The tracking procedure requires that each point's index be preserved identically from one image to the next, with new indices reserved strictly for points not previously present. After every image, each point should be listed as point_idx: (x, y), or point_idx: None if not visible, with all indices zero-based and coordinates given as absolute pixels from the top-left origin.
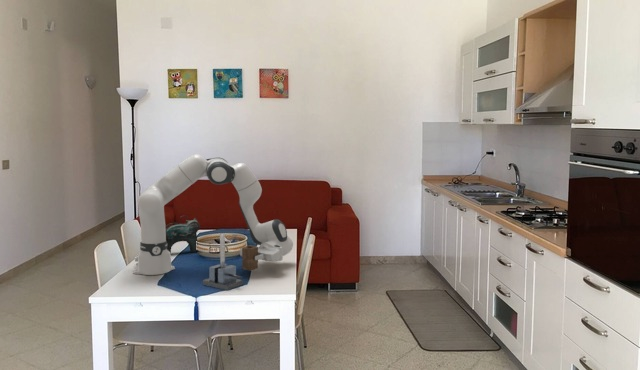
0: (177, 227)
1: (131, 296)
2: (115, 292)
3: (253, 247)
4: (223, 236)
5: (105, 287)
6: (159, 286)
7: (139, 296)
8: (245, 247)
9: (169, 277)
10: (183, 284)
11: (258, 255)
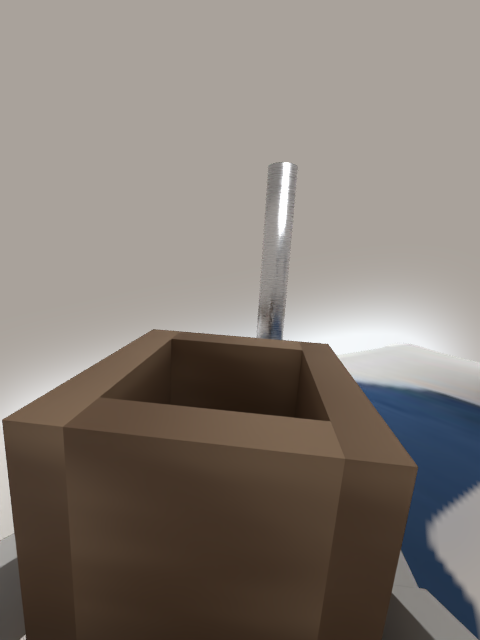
0: None
1: (366, 351)
2: (418, 354)
3: (135, 363)
4: (268, 177)
5: (477, 362)
6: (412, 386)
7: (354, 352)
8: (283, 348)
9: None
10: (389, 410)
11: (13, 544)
